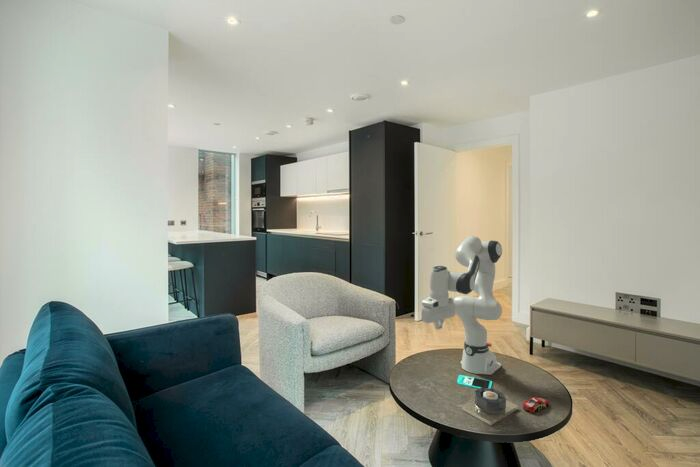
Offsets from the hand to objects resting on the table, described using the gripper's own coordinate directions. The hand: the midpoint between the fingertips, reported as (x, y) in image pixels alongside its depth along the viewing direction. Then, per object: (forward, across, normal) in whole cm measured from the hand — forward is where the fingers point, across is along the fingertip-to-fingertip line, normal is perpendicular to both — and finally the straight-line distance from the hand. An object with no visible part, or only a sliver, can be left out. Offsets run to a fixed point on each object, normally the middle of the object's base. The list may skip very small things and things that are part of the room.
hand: (438, 328), depth 171 cm
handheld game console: (+30, -18, +8) cm, 36 cm away
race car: (+30, -21, +37) cm, 51 cm away
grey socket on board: (+29, -3, +26) cm, 39 cm away
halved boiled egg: (+27, -3, +26) cm, 37 cm away
